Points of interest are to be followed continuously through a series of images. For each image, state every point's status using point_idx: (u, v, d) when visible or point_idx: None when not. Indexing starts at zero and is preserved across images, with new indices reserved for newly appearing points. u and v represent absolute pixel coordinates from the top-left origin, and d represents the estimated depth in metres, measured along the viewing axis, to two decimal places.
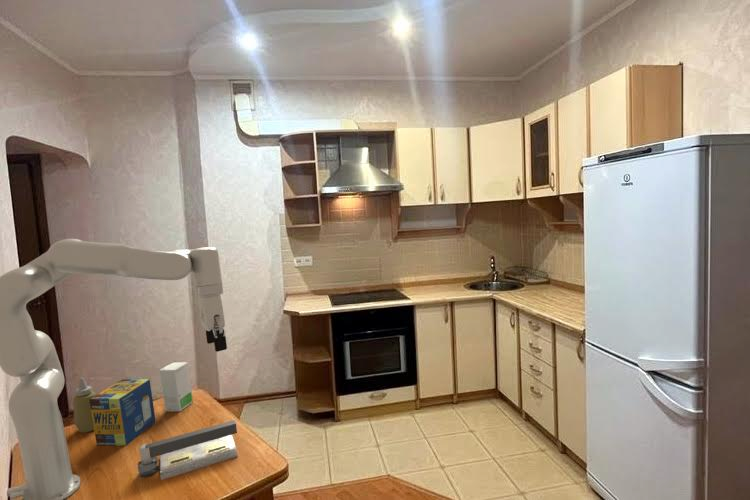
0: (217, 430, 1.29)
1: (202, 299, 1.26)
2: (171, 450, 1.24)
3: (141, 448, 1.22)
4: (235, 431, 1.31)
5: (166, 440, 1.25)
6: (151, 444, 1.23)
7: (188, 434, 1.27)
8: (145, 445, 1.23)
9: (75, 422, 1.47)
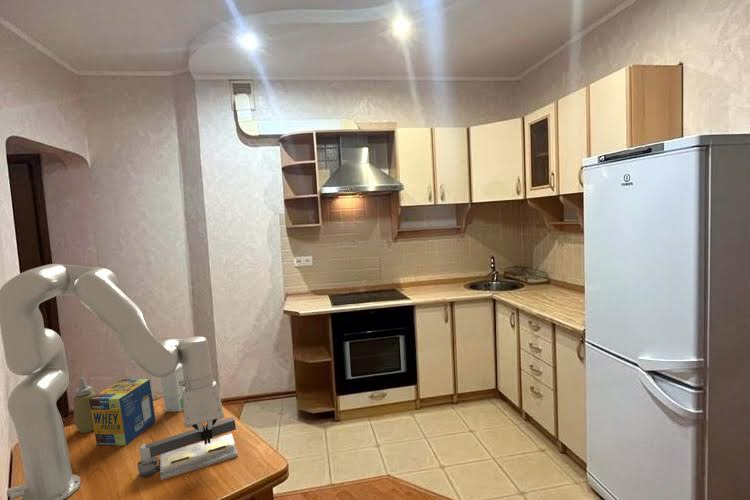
0: (216, 427, 1.31)
1: (208, 389, 1.25)
2: (171, 449, 1.25)
3: (141, 448, 1.21)
4: (234, 428, 1.34)
5: (166, 439, 1.25)
6: (151, 444, 1.23)
7: (188, 432, 1.28)
8: (145, 445, 1.23)
9: (75, 422, 1.47)
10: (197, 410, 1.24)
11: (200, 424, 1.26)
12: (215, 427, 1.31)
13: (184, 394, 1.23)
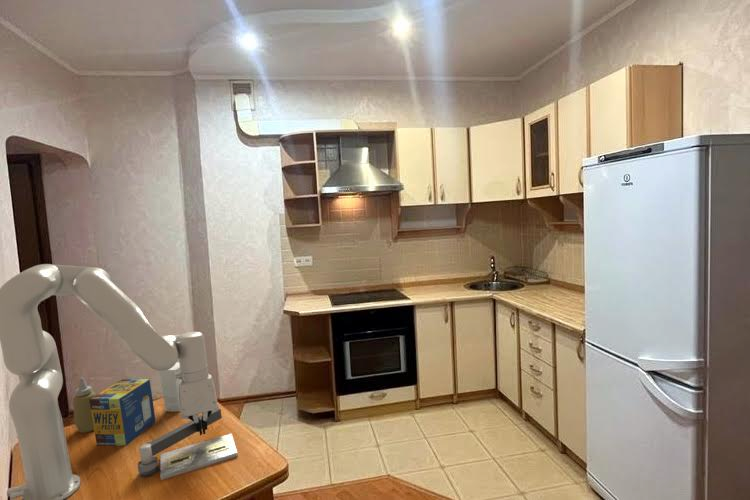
0: None
1: (204, 382, 1.30)
2: (170, 445, 1.27)
3: (142, 448, 1.21)
4: (220, 416, 1.41)
5: (163, 437, 1.27)
6: (150, 443, 1.24)
7: (181, 427, 1.32)
8: (143, 446, 1.23)
9: (75, 422, 1.47)
10: (193, 402, 1.29)
11: (195, 416, 1.31)
12: None
13: (180, 386, 1.28)
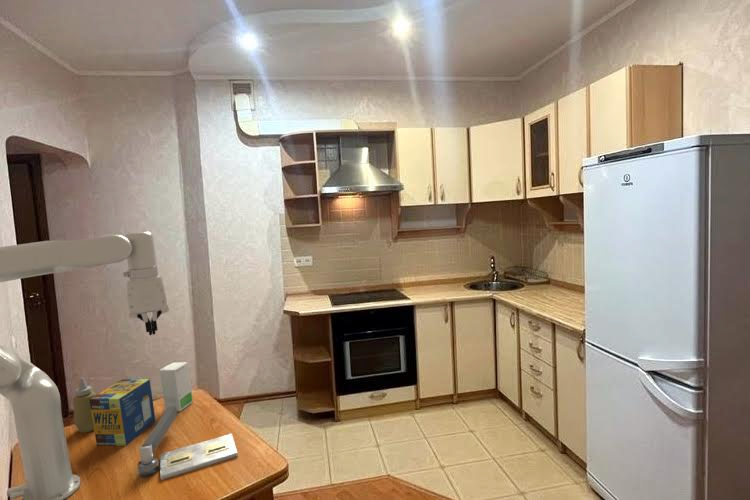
0: (171, 415, 1.41)
1: (152, 280, 1.30)
2: (158, 442, 1.29)
3: (145, 448, 1.21)
4: (176, 413, 1.46)
5: (151, 436, 1.27)
6: (146, 443, 1.24)
7: (158, 426, 1.33)
8: (142, 447, 1.22)
9: (75, 422, 1.47)
10: (141, 300, 1.29)
11: (145, 315, 1.31)
12: (170, 415, 1.41)
13: (128, 283, 1.28)
